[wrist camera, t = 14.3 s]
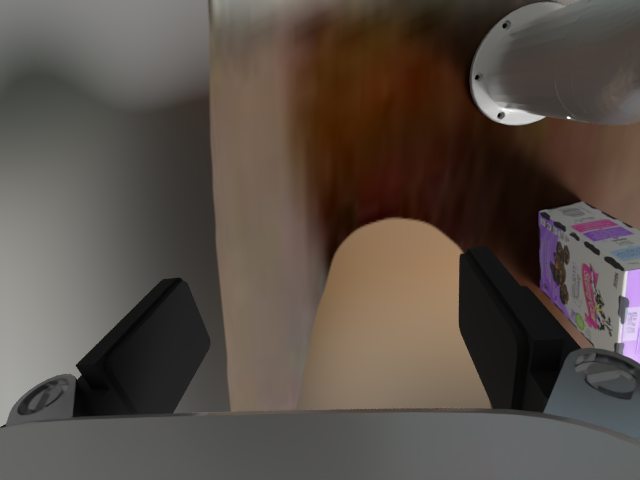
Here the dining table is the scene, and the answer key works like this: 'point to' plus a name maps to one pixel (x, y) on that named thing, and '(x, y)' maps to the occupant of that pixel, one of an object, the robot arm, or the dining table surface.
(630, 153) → the dining table surface
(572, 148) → the dining table surface
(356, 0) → the dining table surface
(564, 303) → the candy box
